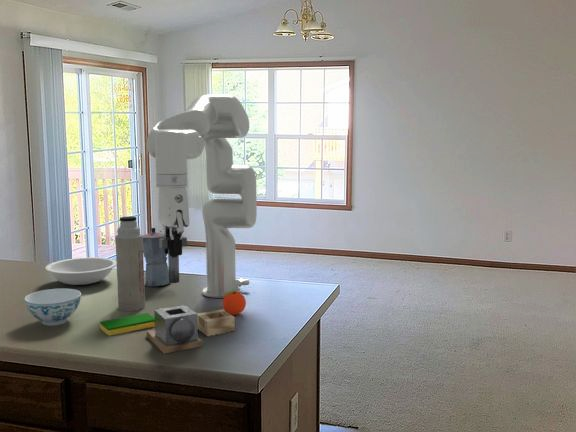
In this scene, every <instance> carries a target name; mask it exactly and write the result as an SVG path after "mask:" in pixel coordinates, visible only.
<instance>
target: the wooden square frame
mask: <svg viewBox="0 0 576 432" xmlns="http://www.w3.org/2000/svg"><path fill="white" fill-rule="evenodd" d="M235 319H236V318H235V315H231V314H229V313H227V312H226V311H225V310H224V308H223V309H217V310H211V311H205V312H197V329H198V330H199V331H200V332H201V333H202V334H204V335H206V336H207V337H211V335H212V336H216V335H215V334H218V335H221V334H220V333H223V334H226V333H225V332H228V333H231V332H230V331H234V332H235V331H236V329H235V328H236V326H235V324H236V321H235Z"/></svg>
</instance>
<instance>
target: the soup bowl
mask: <svg viewBox="0 0 576 432" xmlns="http://www.w3.org/2000/svg"><path fill="white" fill-rule="evenodd" d="M115 267H117V262H116V259H115V260H114V259H111V258H109V257H108V258H106V257H92V256H91V257H90V256H89V257H75V258H68V259H67V258H66V259H61V260H58V261H54V262H51V263H48V264H47V265H46V266H45V268H44V269H45V271H46V272H48V273H50V274H51V275H52V276H53V278H54V279H56V280H57V281H59V283H62V284H67V285H71V286H79V285H80V286H81V285H82V286H83V285H90V284H94V283H97V282H100V281H102V280H104V279H106V277H107V276H109V274H110V273H111V272H112V270H113V268H115Z"/></svg>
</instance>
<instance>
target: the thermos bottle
mask: <svg viewBox="0 0 576 432" xmlns="http://www.w3.org/2000/svg"><path fill="white" fill-rule="evenodd" d="M119 221H120V222H119V223H120V224H119V227H117V230H116V232H117V234H116V235H115V254H116V255H115V257H116V258H115V261H116V262H117V265H116V277H117V280H116V281H117V302H118V304H117V305H118V309H119V310H121V311H125V312H126V311H131V312H132V311H138V310H142V309H145V307H146V294H145V292H146V291H145V290H146V289H145V269H144V268H145V265H144V261H145V260H144V253H143V236H142V235H143V234H142V233H141V227H139V226H138V225H137V224H138V223H137V217H136V216H121V217H119Z"/></svg>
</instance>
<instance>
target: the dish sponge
mask: <svg viewBox="0 0 576 432" xmlns="http://www.w3.org/2000/svg"><path fill="white" fill-rule="evenodd" d="M99 328H100V330H101V331H102V332H103V333H104V334H106V335H107V336H113V335H118V334H123V333H128V332H134V331H138V330H139V331H140V330H143V329H149V328H155V316H154V315H151V314H149V312H145V313H140V314H135V315H129V316H123V317H118V318H112V319H108V320H107V319H106V320H103V321H100V322H99Z"/></svg>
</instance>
